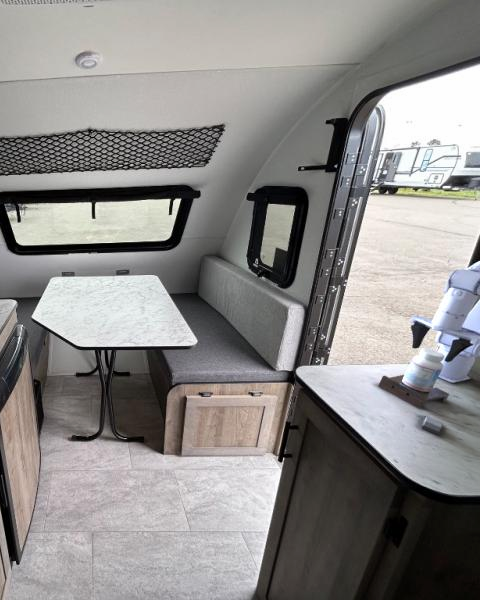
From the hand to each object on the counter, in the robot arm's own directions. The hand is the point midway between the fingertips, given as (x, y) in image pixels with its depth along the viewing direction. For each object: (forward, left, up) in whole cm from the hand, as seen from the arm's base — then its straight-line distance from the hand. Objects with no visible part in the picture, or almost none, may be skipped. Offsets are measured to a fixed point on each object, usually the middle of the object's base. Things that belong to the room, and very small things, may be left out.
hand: (430, 354), depth 96 cm
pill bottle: (+8, +3, -8) cm, 11 cm away
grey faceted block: (+20, +14, -10) cm, 26 cm away
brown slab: (+8, +3, -10) cm, 13 cm away
